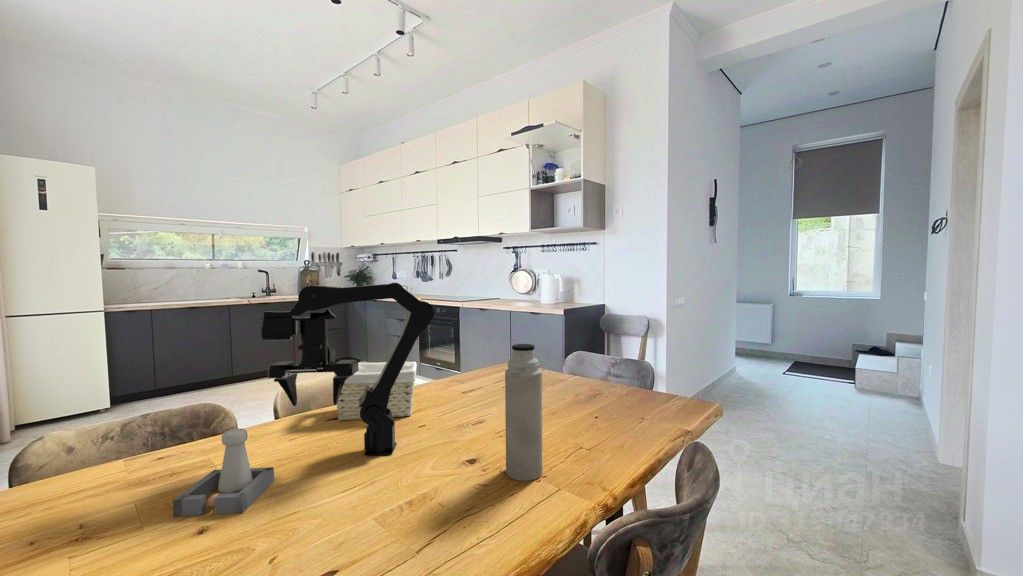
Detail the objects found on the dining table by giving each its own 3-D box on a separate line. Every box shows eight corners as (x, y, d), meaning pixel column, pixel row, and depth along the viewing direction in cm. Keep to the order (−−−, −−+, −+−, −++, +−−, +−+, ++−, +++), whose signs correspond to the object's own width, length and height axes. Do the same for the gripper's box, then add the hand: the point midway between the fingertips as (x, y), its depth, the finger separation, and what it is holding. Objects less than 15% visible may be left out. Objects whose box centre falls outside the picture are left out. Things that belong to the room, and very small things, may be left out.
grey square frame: (274, 481, 89) (273, 467, 89) (242, 513, 77) (242, 496, 77) (214, 483, 88) (214, 469, 88) (173, 516, 77) (172, 500, 76)
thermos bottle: (512, 462, 98) (511, 341, 97) (546, 466, 95) (545, 342, 94) (500, 477, 90) (499, 346, 89) (536, 483, 88) (535, 348, 87)
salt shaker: (234, 505, 80) (232, 437, 80) (210, 501, 82) (208, 434, 81) (260, 490, 86) (258, 426, 85) (237, 486, 87) (236, 424, 87)
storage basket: (417, 402, 145) (416, 359, 144) (416, 418, 129) (415, 370, 128) (343, 407, 140) (342, 363, 140) (332, 424, 124) (331, 374, 124)
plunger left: (223, 499, 80) (223, 491, 80) (216, 506, 78) (215, 497, 78) (214, 500, 80) (214, 491, 80) (206, 506, 78) (206, 497, 78)
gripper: (364, 333, 108) (365, 394, 108) (287, 334, 106) (289, 396, 107) (351, 340, 97) (352, 407, 97) (265, 341, 95) (267, 410, 96)
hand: (315, 405), depth 99 cm, fingers open, 9 cm apart
